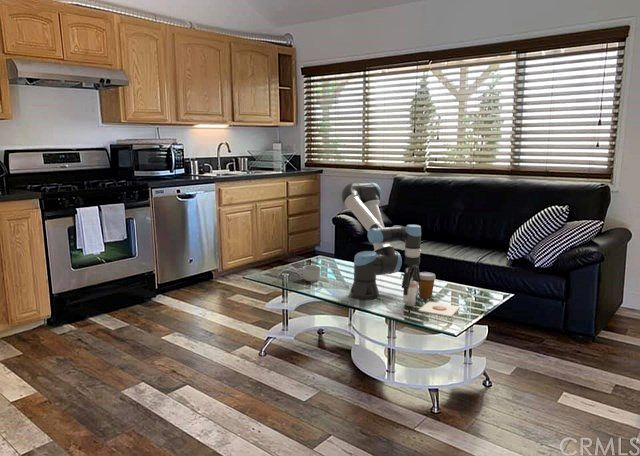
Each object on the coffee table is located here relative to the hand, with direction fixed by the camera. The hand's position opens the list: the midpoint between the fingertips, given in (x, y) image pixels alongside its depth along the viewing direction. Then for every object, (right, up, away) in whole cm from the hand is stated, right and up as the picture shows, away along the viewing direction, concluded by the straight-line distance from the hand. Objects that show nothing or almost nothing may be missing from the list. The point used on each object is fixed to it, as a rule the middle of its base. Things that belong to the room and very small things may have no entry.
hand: (410, 297), depth 248 cm
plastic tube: (0, -3, +1) cm, 4 cm away
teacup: (-52, +4, +43) cm, 68 cm away
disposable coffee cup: (+11, -1, +15) cm, 18 cm away
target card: (+13, -5, -7) cm, 15 cm away
